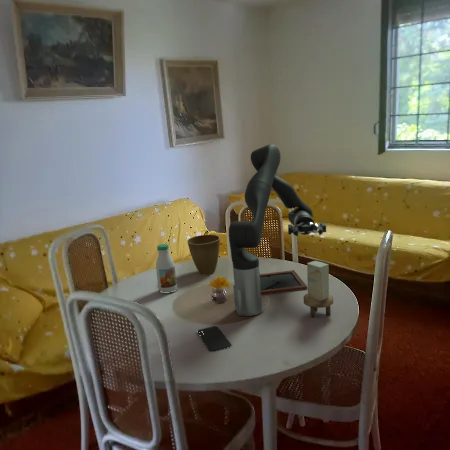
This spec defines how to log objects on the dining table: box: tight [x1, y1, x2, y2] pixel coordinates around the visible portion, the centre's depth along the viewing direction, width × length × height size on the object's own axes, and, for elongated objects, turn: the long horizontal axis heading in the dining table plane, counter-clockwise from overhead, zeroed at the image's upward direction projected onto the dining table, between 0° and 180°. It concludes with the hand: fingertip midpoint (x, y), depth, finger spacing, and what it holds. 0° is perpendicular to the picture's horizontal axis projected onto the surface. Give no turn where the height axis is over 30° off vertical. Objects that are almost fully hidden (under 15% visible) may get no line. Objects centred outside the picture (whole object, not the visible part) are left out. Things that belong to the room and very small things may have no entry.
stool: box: [302, 292, 334, 319], centre depth 153 cm, size 10×10×6 cm
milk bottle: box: [155, 243, 178, 292], centre depth 184 cm, size 8×8×20 cm
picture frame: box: [260, 269, 308, 296], centre depth 184 cm, size 20×2×25 cm
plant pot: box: [186, 234, 221, 276], centre depth 203 cm, size 15×15×16 cm
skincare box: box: [306, 259, 330, 301], centre depth 151 cm, size 6×4×12 cm
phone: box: [197, 325, 232, 352], centre depth 143 cm, size 7×1×15 cm
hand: (308, 232), depth 163 cm, fingers open, 8 cm apart
